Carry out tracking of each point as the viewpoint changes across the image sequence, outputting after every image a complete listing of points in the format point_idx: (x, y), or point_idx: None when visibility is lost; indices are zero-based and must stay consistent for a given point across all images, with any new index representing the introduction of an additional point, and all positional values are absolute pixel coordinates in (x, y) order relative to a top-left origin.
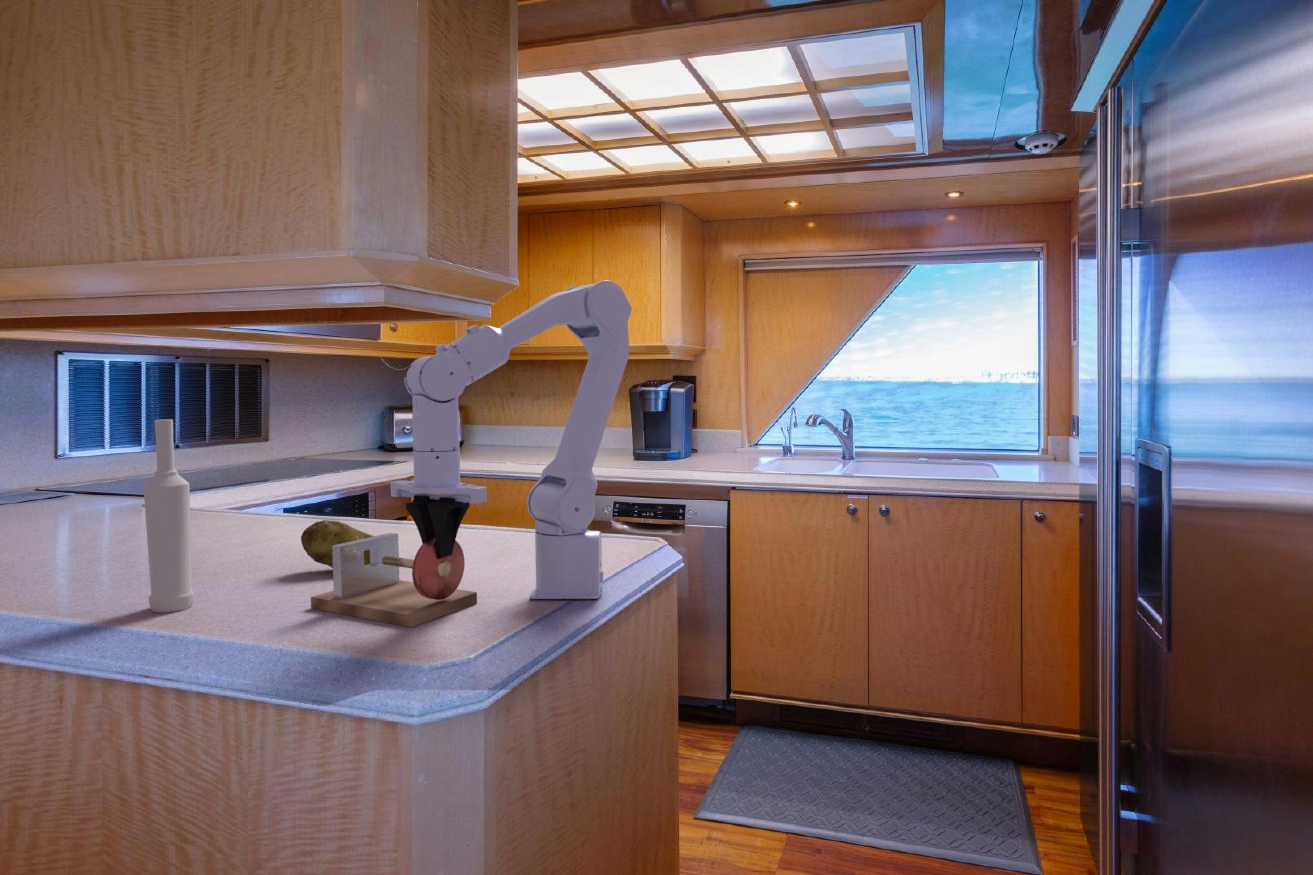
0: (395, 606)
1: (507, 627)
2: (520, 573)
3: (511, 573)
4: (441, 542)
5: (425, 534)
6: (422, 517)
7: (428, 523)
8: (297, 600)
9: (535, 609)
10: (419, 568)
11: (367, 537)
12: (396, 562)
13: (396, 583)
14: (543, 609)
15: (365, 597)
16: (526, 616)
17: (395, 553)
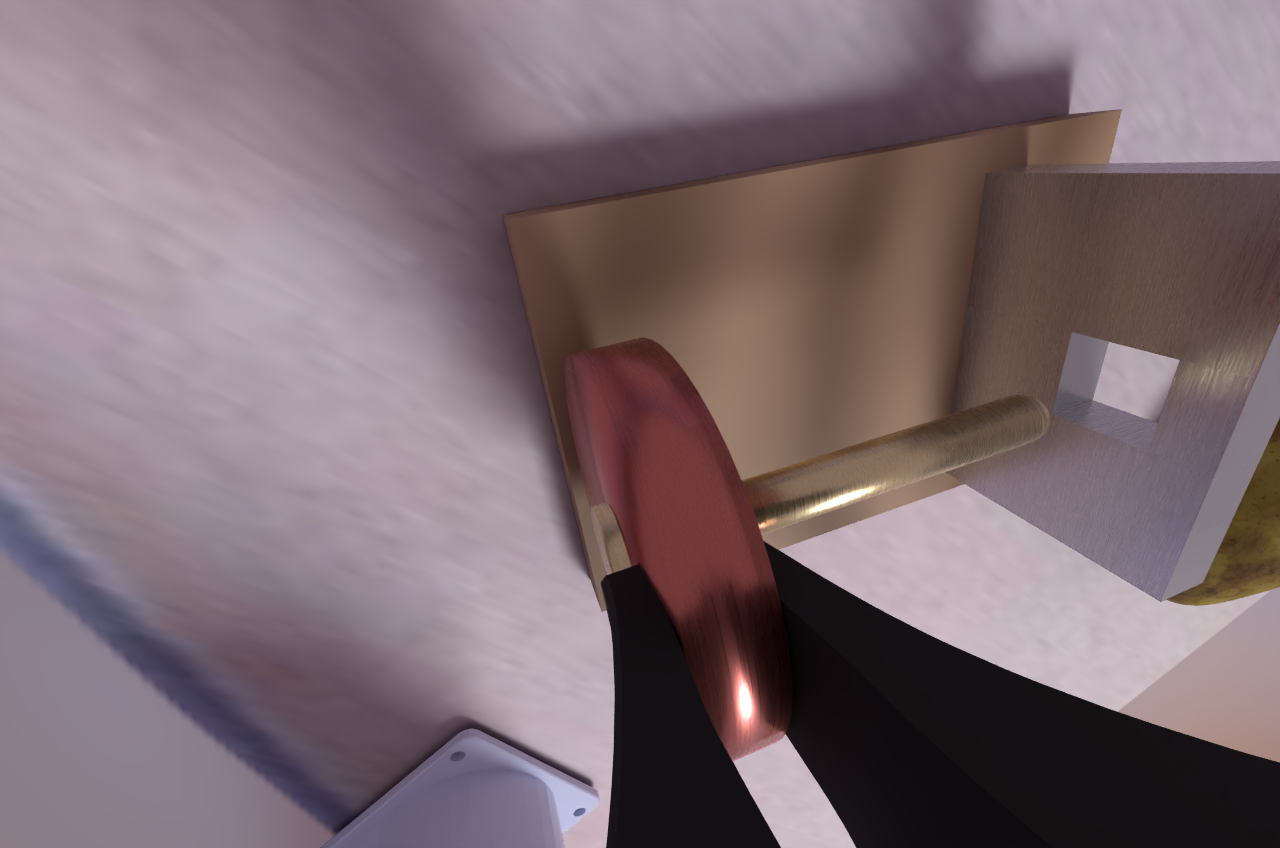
0: (705, 265)
1: (143, 520)
2: (748, 785)
3: (770, 767)
4: (614, 675)
5: (822, 645)
6: (993, 816)
7: (901, 777)
8: (1164, 151)
9: (338, 698)
10: (609, 382)
11: (1268, 568)
12: (938, 425)
13: None
14: (313, 719)
15: (920, 264)
16: (264, 642)
17: (1060, 523)
